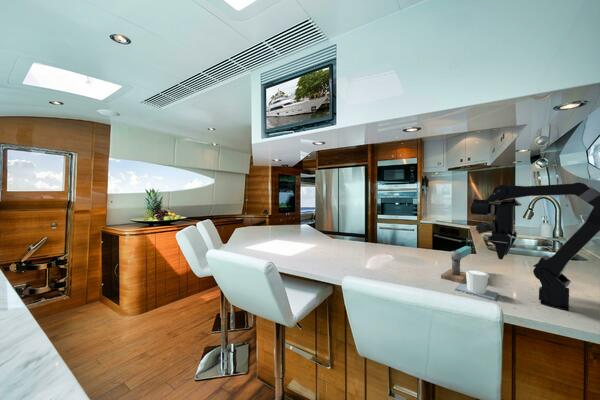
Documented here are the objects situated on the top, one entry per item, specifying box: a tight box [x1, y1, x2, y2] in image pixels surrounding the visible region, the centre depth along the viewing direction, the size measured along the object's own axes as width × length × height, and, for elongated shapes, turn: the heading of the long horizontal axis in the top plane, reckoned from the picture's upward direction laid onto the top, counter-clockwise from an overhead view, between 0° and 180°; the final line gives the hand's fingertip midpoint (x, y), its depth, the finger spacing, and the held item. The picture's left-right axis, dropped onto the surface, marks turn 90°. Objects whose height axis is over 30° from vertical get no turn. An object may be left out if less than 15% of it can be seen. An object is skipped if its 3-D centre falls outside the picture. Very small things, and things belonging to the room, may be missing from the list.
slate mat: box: [454, 283, 499, 302], centre depth 89 cm, size 12×8×1 cm, turn 41°
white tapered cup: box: [465, 269, 489, 294], centre depth 89 cm, size 7×7×7 cm
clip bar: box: [450, 245, 472, 262], centre depth 109 cm, size 20×4×3 cm, turn 130°
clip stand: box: [440, 259, 467, 284], centre depth 104 cm, size 8×12×8 cm, turn 131°
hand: (502, 257), depth 90 cm, fingers open, 9 cm apart
